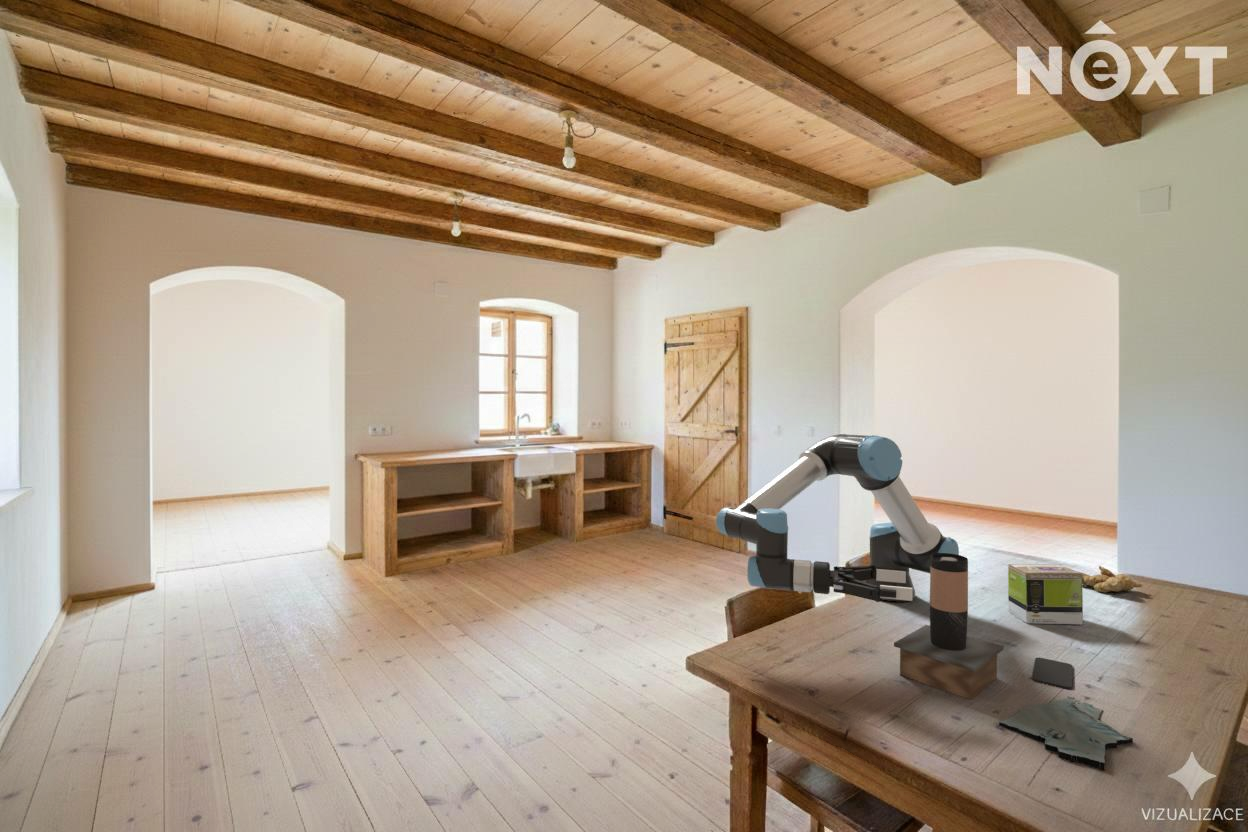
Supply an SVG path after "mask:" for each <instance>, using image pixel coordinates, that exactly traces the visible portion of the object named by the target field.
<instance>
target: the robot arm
mask: <svg viewBox="0 0 1248 832" xmlns="http://www.w3.org/2000/svg"><path fill="white" fill-rule="evenodd" d="M798 456H799V457H798V459H797V460H796V461H795V462H794V463H792V464H791V465H790V466H789V467H788V468H786V469H785V470H783V471H781V473H779V474H778V475H777V476H776V477H774V478H773V479H772V480H771V481H769V482H768V483H766V484H765V485H764V486H762V487H761V488H760V489H759V490H757V491H756V492H754V494H752V495H751V496H749V497H748V498H747V499H744V501H742V502H741V503H740V504H739V505H737V506H736V507H723V508H722V509H721V510H720V511H719V512H718V513H717V514H716V516H715V517H716V518H715V526H716V528H717V530H718V531H719V533H721V534H723V536H724V535H725V536H726V537H729V538H733V539H737V540H740V541H743V542H744V541H745V542H747V543H750V544H753V545H755V546H756V547H755V548H756V552H755V553H756V554H755V555H750V556H749V558H748V561H747V570H746V572H747V575H746V576H747V582H748V584H749V585H750V586H752V587H755V588H762V589H767V590H769V589H771V590H779V591H780V590H782V591H792V592H793V591H794V592H798V594H803V592H804V593H811V592H812V591H813V593H815V594H821V595H823V594H824V595H829V594H830V592H831V591H830V589H831V587H832V588H833V592H834V593H838V594H845V595H848V596H854V597H857V598H862V599H867V600H870V601H874V602H877V603H880V602H881V601H883V600H888V601H887V602H889V601H896V602H895V603H907V601H908V602H913V601H915V598H916V590H915V587H914V584H913V580H912V577H911V575H910V569H911V570H914V571H917V572H918V571H919V572H923V573H926V574H930V566H931V555H932V554H934V553H950V554H956V555H960V554H959V553H960V550H959V549H960V548H959V544H958V542H957V541H956V540H955V539H954V538H952V537H951V536H950V537H949V536H948V537H947V536H944V535H943V534H942V532H941V531H940V529H939V528H938V527H937V526H936V525H935V524H933V523H931V522H928V520H927V519H926V517H925V515H924V514H923V512H922V511H921V509H920V507H919V505H917V502H916V501H915V499H914V498H913V496H912V494H911V493H910V492H909V490H908V489H907V487H906V485H905V483H904V482H903V481H902V479H901V477H900V475H901V471H902V466H903V459H902V451H901V449H900V447H899V446H898V445H897V443H896V442H895V441H894V440H892V438H891V439H890V438H889V437H886V436H885V437H884V436H881V435H880V436H879V435H861V434H860V435H859V434H845V433H841V434H835V435H831V436H828V437H825V438H823V439H821V440H819V441H817V442H815V443H814V444H813V445H811V446H809V447H807V449H805V450H804V451H803V452H801V453H800V454H799V455H798ZM832 475H843V476H848V477H849V476H850V477H854V478H855V479H856V481H857V482H858V483H859V485H860V487H861V488H862V489H863V490H866V491H868V492H871V493H872V494H873V497H874V498H875V499H876V501H877V502H878V504H879V505H880V507H881V508H882V510H883V511H884V513H885V515H886V516H887V518H888V519H889V520H890V522H880V523H876V524H872V526H870V530H869V531H870V532H869V533H870V534H869V565H863V566H862V565H860V566H857V565H856V566H833V570H831V567H830V566H831V564H830V562H828V561H819V560H815V561H814V562H812V561H811V560H809V559H808V560H806V559H792V558H788V546H789V545H788V540H789V539H788V537H789V532H788V531H789V525H788V514H787V512H786V511H785V510H782V509H783V508H784V506H786V505H787V504H789V503H790V502H791V501H793V500H794V499H795V498H796V497H797V496H799V495H800V494H801V493H803V491H805V490H806V489H808V488H809V487H810V486H811V485H813V484H814V483H815V482H816V481H817V482H819V481H820V482H821V481H823V480H825V479H826V478H827V477H829V476H832ZM880 599H882V600H880Z"/></svg>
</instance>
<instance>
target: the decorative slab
mask: <svg viewBox="0 0 1248 832" xmlns="http://www.w3.org/2000/svg"><path fill="white" fill-rule="evenodd" d="M1102 712H1104V710H1103V709H1100V708H1096V707H1094V706H1093V704H1091V703H1089V702H1083V703H1082V701H1081V700H1078V699H1075V697H1071V696H1067V698H1064V699H1058V700H1053V701H1052V702H1048V703H1047V702H1046V703H1044V702H1043V703H1036V704H1030V705H1028V706H1025V707H1023V708H1021V710H1019V711H1017V712H1016V713H1014V715H1012V716H1008V717H1007V718H1006V719H1005V720H1003V721H998V727H1002V728H1005V729H1006V730H1009V731H1011V732H1012V731H1013V732H1015V733H1017V734H1019V735H1021V736H1023V737H1026V738H1029V739H1031V740H1034V741H1036V742H1040V743H1042V744H1044V750H1046V751H1049V752H1052V753H1055V754H1057V755H1058V756H1057V757H1058V758H1059V759H1060V760H1061V759H1062V760H1065V761H1068V762H1071V763H1075V764H1081V765H1084V766H1085V765H1086V766H1088V767H1091V768H1094V769H1097V770H1100V771H1104V772H1105V770H1106V758H1107V757H1106V755H1107V753H1106V751H1107V750H1114V749H1117V748H1118V746H1122V745H1126V744H1132V743H1133V741H1134V739H1133V737H1130V736H1127V735H1125V734H1123V733H1120V732H1119V731H1117V730H1116V729H1114V728H1113V727H1112V726H1109V725H1108V724H1106V723H1105V722H1104V721H1101V714H1102Z"/></svg>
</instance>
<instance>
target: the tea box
mask: <svg viewBox="0 0 1248 832" xmlns="http://www.w3.org/2000/svg"><path fill="white" fill-rule="evenodd" d="M1007 569H1008V570H1007V571H1008V572H1007V574H1008V575H1007V576H1008V577H1007V578H1008V583H1007V584H1008V588H1007V589H1008V597H1007V599H1008V613H1010V614H1012V615H1013V616H1014V617H1017V618H1018V619H1019V620H1020V621H1022V622H1024V623H1026V624H1035V625H1037V624H1040V625H1041V624H1043V625H1079V626H1080V625H1081V626H1082V625H1084V621H1083V619H1084V615H1083V614H1084V613H1083V611H1084V610H1083V608H1084V607H1083V606H1084V605H1083V602H1084V600H1083V599H1084V598H1083V597H1084V596H1083V593H1084V592H1083V584H1082V573H1083V572H1081V573H1079V572H1080V571H1077V570H1074V569H1071V568H1070V567H1067V566H1065V565H1062V564H1059V563H1058V564H1057V563H1056V564H1053V563H1052V564H1051V563H1050V564H1047V563H1045V564H1043V563H1038V564H1037V563H1020V564H1019V563H1008V565H1007Z"/></svg>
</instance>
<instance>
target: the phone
mask: <svg viewBox="0 0 1248 832" xmlns="http://www.w3.org/2000/svg"><path fill="white" fill-rule="evenodd" d="M1033 663H1034V664H1033V669H1032V670H1033V671H1032V674H1031V675H1032V676H1031V677H1032V678H1031V680H1032V681H1033V682H1035V683H1038V682H1039V684H1042V683H1044V684H1043V685H1046V684H1048V685H1047V686H1051V685H1052V686H1051V687H1055V686H1056V688H1059V687H1060V689H1063V690H1073V687H1074V679H1073V677H1074V676H1073V673H1074V672H1073V671H1074V666H1073V665H1072V664H1071V663H1069V662H1068V663H1067V662H1063V661H1058V660H1053V659H1049V658H1044V657H1035V658H1034V662H1033Z"/></svg>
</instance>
